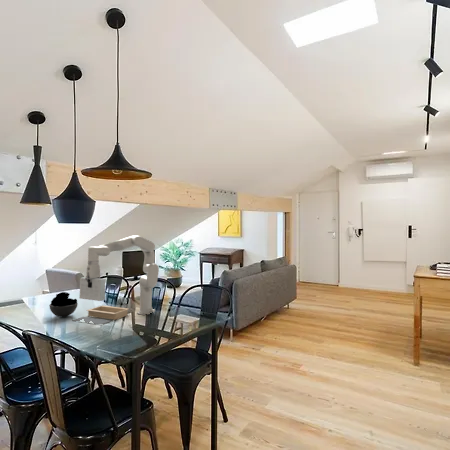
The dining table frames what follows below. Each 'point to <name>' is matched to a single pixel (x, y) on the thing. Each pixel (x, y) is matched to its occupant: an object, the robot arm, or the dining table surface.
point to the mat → (93, 320)
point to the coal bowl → (63, 305)
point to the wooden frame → (108, 312)
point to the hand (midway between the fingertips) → (92, 286)
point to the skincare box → (92, 289)
